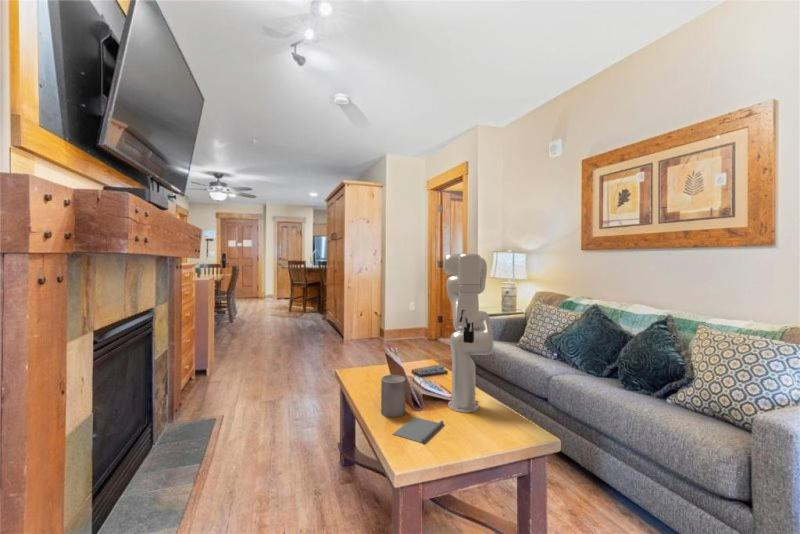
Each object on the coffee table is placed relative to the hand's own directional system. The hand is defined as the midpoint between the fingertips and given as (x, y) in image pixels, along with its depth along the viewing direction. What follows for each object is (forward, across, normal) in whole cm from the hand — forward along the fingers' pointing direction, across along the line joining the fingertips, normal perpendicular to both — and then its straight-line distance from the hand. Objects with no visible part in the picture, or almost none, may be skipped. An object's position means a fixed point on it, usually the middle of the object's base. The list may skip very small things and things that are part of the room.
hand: (468, 342), depth 123 cm
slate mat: (+32, +6, -16) cm, 36 cm away
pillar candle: (+32, -2, -32) cm, 45 cm away
